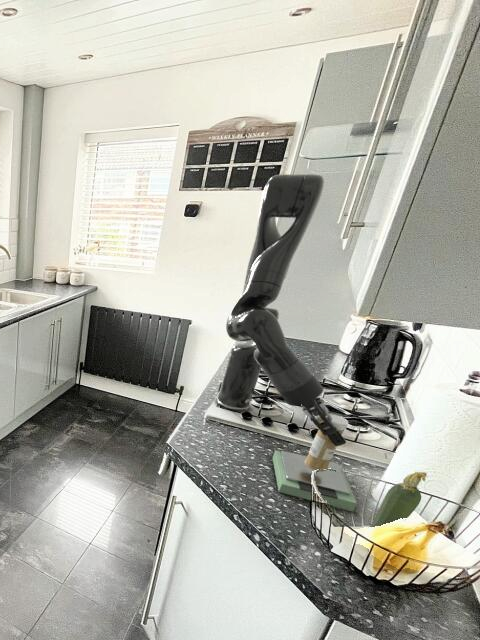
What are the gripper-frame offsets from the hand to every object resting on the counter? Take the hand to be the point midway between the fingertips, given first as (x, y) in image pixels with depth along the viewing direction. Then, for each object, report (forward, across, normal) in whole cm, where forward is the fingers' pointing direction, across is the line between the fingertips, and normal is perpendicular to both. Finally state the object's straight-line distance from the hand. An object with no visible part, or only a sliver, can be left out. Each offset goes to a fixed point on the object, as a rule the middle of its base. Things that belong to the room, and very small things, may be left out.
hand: (338, 438), depth 98 cm
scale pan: (+7, +1, +9) cm, 11 cm away
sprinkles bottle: (+5, 0, +8) cm, 9 cm away
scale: (+8, 0, +11) cm, 13 cm away
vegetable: (+14, -20, +5) cm, 25 cm away
